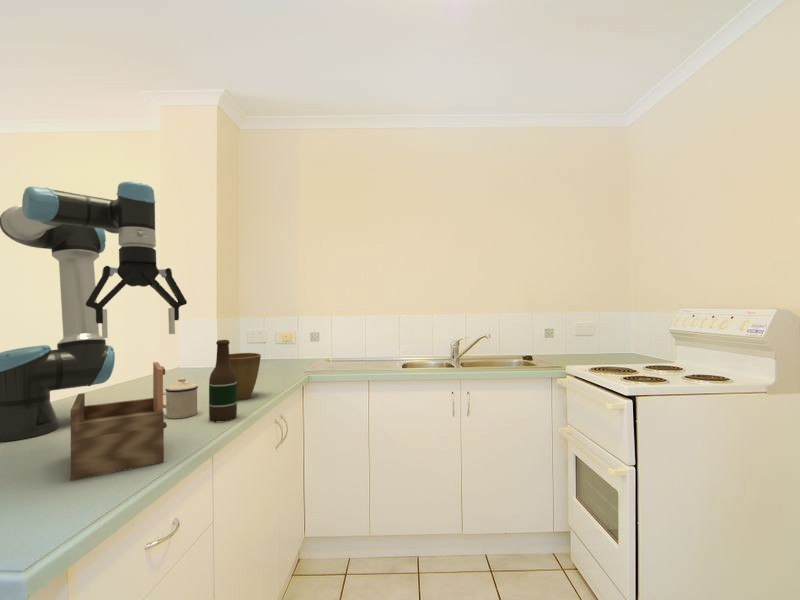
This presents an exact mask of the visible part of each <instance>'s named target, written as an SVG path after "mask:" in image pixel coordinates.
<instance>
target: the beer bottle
mask: <svg viewBox="0 0 800 600" xmlns="http://www.w3.org/2000/svg"><path fill="white" fill-rule="evenodd" d="M215 344H216V345H217V346H216V360H215V365H214V367H213V370H212V371H211V373H210V375H209V380H208V382H209V383H208V416H209V417H208V418H209V420H210V421H211V422H213V421H214V422H213V423H217V422H216V421H225V422H227V421H226V420H229V421H232V420H231V419H233V420H234V419H236V417H237V414H238V411H237V410H238V403H237V402H238V400H237V379H236V374H235V371H234V370H233V368H232V367H231V365H230V358H229V354H230V347H229V346H230V340H229V339H218V340H217V341H216V343H215Z"/></svg>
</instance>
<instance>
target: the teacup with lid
mask: <svg viewBox="0 0 800 600" xmlns="http://www.w3.org/2000/svg"><path fill="white" fill-rule="evenodd" d="M186 379H187V378H185V377H179V378H178V380H177V381H175V382H174V383H173V384H171V385H168V386H166V388H165V392H164V391H163V396H164V395H165V396H166V397H165V400H166V402H165V403H166V404H163V409H165V410H166V411H165V412H166V418H167V419H186V418H190V417H193V416H195V415H197V414H198V388H199V386H198V384H197V383H193V382H191V381H188V380H186Z"/></svg>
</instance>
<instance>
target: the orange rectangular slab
mask: <svg viewBox="0 0 800 600" xmlns="http://www.w3.org/2000/svg"><path fill="white" fill-rule="evenodd" d="M152 365H153V366H152V367H153V368H152V374H153V375H152V378H153V380H152V390H153V391H152V398H153V410H154V412H160V411H163V412H164V408H163V405H164V395H163V392H164V375H166V369H165V367H164V366H161V365H160V363H159V361H153V362H152Z"/></svg>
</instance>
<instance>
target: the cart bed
mask: <svg viewBox="0 0 800 600" xmlns="http://www.w3.org/2000/svg"><path fill="white" fill-rule="evenodd" d="M85 394H86V393H83V392H81V393H77V396H76V398H75V400H74V402H73V404H72V405H71V409H70V481H75V480H81V479H85V478H90V476H91V477H95V476H94V475H96V476H100V475H99V474H101V475H104V474H103V473H106V474H110V473H109V472H111V473H115V472H114V471H116V472H120V471H119V470H121V471H125V470H124V469H127V470H130V469H129V468H132V469H136V468H135V467H137V468H140V466H142V467H145V465H147V466H150V464H152V465H155V464H154V463H157V464H161V463H160V462H162V463H164V462H165V460H164V458H165V457H164V455H165V450H164V449H165V447H164V445H165V442H164V441H165V439H164V438H165V437H164V436H165V435H164V434H165V433H164V431H165V429H166V428H167V426H168V425H167V423H166V422H165V419H164V415H165V413H164V410H163V411H160V412H154V410H153V397H149V398H140V399H132V400H124V401H115V402H105V403H99V404H98V403H97V404H89V405H86V403H85V401H86V399H85V398H86V396H85Z"/></svg>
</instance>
